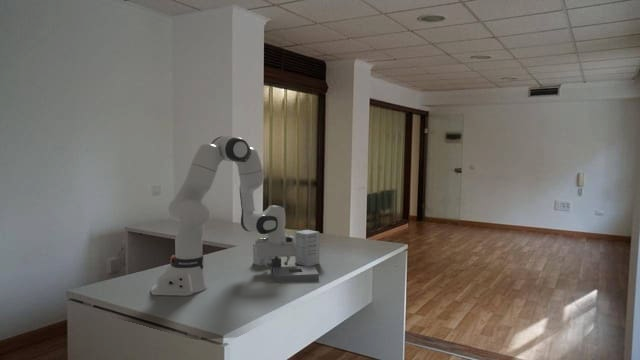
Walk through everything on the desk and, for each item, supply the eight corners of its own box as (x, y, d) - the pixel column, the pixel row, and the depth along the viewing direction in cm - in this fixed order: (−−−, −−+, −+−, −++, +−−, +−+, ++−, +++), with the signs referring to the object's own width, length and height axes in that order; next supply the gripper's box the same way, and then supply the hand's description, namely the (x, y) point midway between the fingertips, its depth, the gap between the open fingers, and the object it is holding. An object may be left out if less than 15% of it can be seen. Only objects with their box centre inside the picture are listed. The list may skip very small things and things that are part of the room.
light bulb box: (268, 259, 238) (268, 240, 237) (276, 262, 233) (276, 242, 232) (252, 263, 231) (252, 243, 230) (260, 266, 226) (260, 245, 225)
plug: (272, 271, 217) (272, 255, 216) (271, 269, 221) (271, 253, 220) (281, 271, 217) (281, 255, 217) (280, 268, 222) (280, 253, 221)
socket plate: (275, 282, 200) (275, 275, 200) (272, 273, 214) (272, 267, 214) (318, 280, 204) (318, 274, 203) (313, 271, 217) (313, 265, 217)
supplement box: (320, 263, 232) (320, 231, 230) (307, 267, 225) (307, 234, 224) (307, 260, 239) (307, 229, 237) (294, 263, 232) (294, 231, 231)
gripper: (255, 239, 213) (255, 268, 214) (297, 238, 216) (297, 266, 218) (254, 237, 219) (255, 264, 220) (296, 235, 223) (296, 262, 224)
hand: (276, 265), depth 219 cm, fingers open, 8 cm apart
